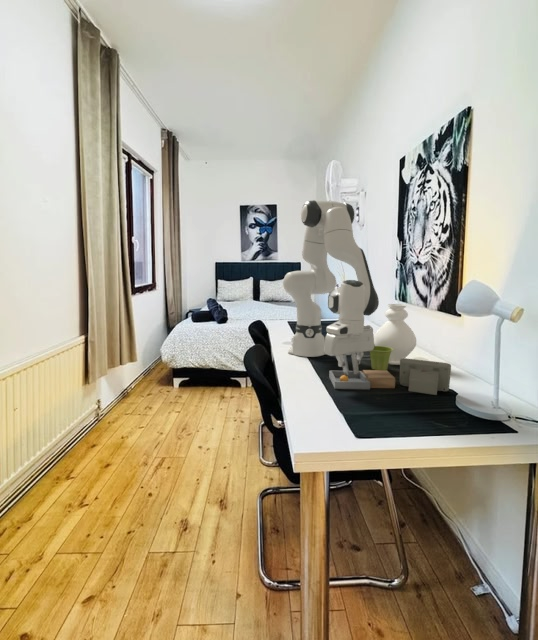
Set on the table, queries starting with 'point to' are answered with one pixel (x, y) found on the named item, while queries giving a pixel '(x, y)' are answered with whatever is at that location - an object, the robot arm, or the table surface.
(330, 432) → the table surface
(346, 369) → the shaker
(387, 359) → the plant pot
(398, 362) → the decorative vase
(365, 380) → the tray
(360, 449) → the table surface
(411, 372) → the digital clock
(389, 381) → the stand
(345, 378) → the ball
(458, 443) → the table surface
